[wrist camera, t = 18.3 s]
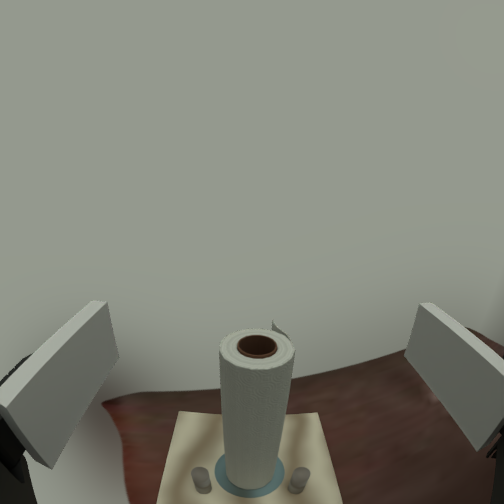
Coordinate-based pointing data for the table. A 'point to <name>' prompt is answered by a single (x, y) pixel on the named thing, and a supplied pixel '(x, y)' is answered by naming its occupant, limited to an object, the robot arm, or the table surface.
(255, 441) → the paper towel roll
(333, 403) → the table surface
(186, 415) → the plate
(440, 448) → the table surface
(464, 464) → the table surface
